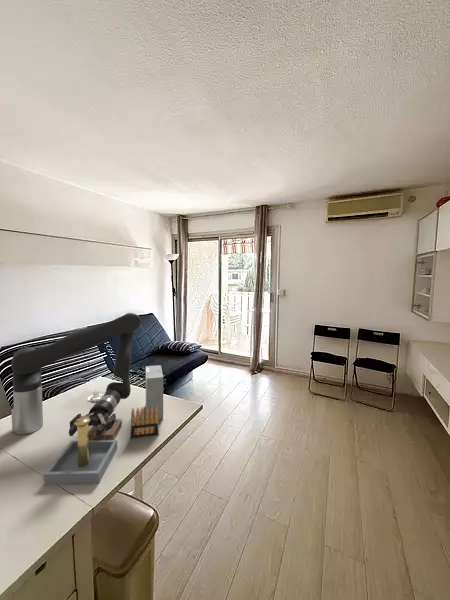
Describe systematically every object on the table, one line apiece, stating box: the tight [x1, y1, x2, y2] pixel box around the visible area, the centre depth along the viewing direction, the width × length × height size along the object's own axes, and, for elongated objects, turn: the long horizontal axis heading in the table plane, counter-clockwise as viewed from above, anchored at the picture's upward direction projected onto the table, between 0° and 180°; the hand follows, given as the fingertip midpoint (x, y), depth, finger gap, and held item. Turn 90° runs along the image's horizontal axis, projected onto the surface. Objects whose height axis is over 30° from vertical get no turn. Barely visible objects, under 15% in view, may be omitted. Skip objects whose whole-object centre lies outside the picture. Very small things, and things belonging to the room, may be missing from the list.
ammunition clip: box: [129, 406, 159, 439], centre depth 103 cm, size 11×2×12 cm, turn 104°
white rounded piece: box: [87, 389, 104, 402], centre depth 133 cm, size 9×8×4 cm
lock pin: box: [75, 417, 90, 467], centre depth 85 cm, size 4×4×15 cm
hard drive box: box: [145, 364, 164, 421], centre depth 120 cm, size 16×8×20 cm, turn 18°
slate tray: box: [43, 439, 118, 486], centre depth 86 cm, size 16×16×4 cm
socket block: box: [88, 419, 123, 440], centre depth 103 cm, size 10×10×3 cm
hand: (83, 433), depth 86 cm, fingers open, 8 cm apart
